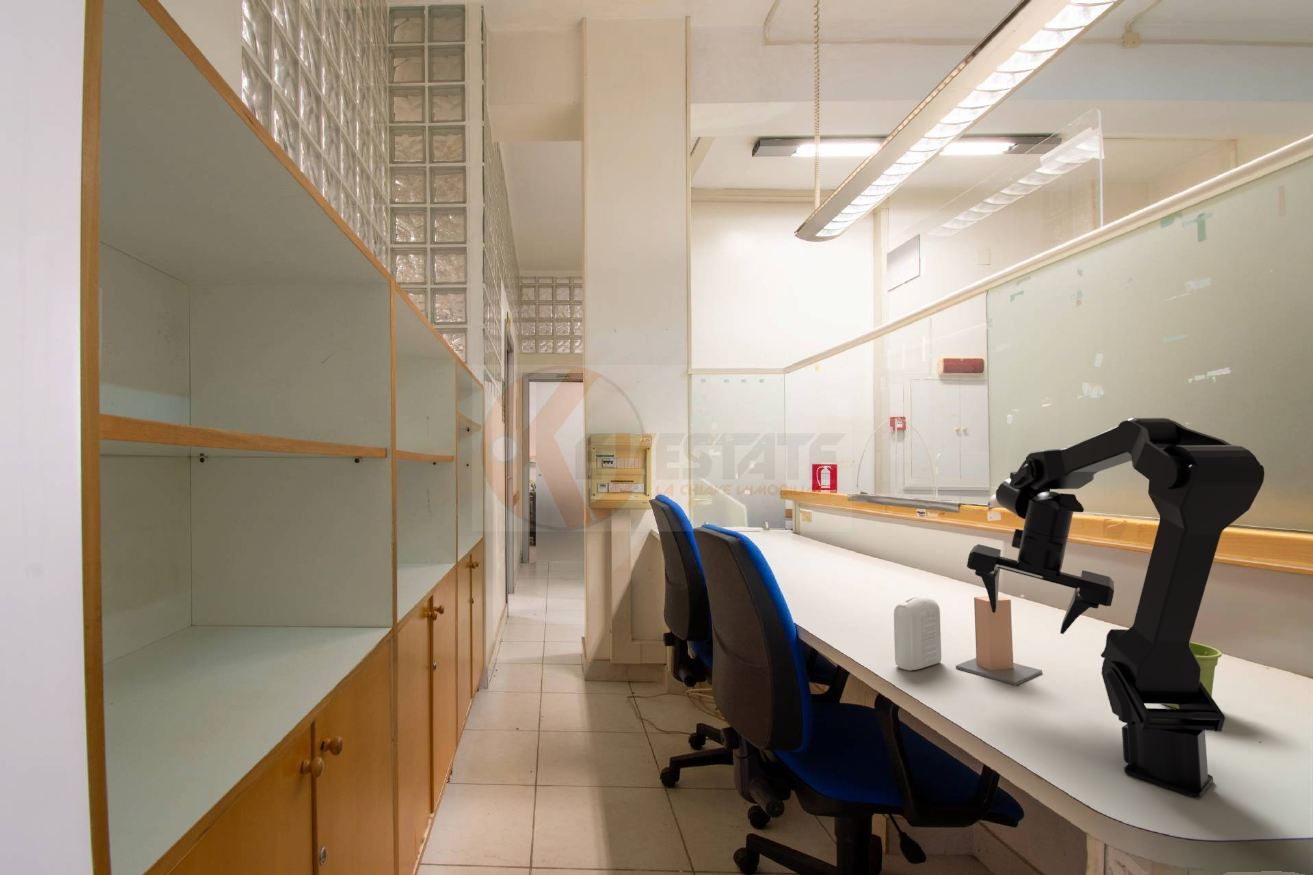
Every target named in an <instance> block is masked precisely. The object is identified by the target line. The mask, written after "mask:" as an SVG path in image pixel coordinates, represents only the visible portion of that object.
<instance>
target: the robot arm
mask: <svg viewBox="0 0 1313 875" xmlns="http://www.w3.org/2000/svg"><path fill="white" fill-rule="evenodd" d="M1128 462H1131V464H1132V467H1133V469H1134V470H1136V471H1137V473H1140V474H1141V476H1143V477H1145V478H1146V479H1147V480H1148V490H1147V493H1148V496H1149V498H1150V500H1151V501H1152V504H1153V505H1154V508H1155V509H1156V511H1157V513H1158V516H1159V521H1158V522H1159V523H1158V526H1157V531H1156V535H1155V537H1154V542H1153V547H1152V550H1151V553H1150V557H1149V560H1148V566H1147V569H1146V573H1145V577H1144V581H1143V585H1142V589H1141V592H1140V597H1139V601H1138V605H1137V609H1136V612H1135V617H1134V620H1133V623H1132V626H1131V627H1130V628H1128V629H1118V628H1117V629H1115V628H1113V629H1112V628H1111V629H1110V630H1109V631H1108V633H1107V634H1106V639H1105V647H1104V649H1103V651H1102V652H1101V653H1100V657H1101V658H1103V661H1102V665H1101V672H1100V673H1101V676H1102V679H1103V683H1104V686H1105V690H1106V695H1107V699H1108V701H1109V706H1110V709H1111V712H1112V714H1113V715H1116V716H1117V717H1118V721H1120V722H1121V723H1125V724H1124V725H1123V726H1122V727H1121V734H1122V736H1121V737H1122V752H1123V753H1122V754H1123V761H1124V762H1125V764H1127V765H1126V766H1124V767H1123V769H1124V770H1123V771H1124V773H1125V774H1127V775H1129V776H1133V777H1135V778H1137V779H1138V778H1139V779H1140V780H1144V781H1146V782H1149V783H1153V784H1154V785H1158V786H1161V787H1164V788H1166V789H1170V790H1172V791H1173V790H1174V791H1175V792H1178V793H1181V794H1184V795H1187V796H1190V797H1194V798H1198V799H1200V798H1201V797H1202V796H1203V795H1204V794H1205V792H1206V791H1207V790H1208V788H1209V787H1210V786H1211V785H1212V784H1213V783H1214V777H1213V775H1212V774H1209V771H1208V770H1209V769H1208V757H1207V742H1206V741H1207V740H1206V731H1207V732H1208V731H1209V732H1210V731H1212V732H1216V733H1217V732H1220V733H1221V732H1222V731H1223V727H1224V724H1225V721H1226V716H1225V714H1224V713H1223V711H1222V710H1221V708H1220V707H1219V705H1218V704H1217V703H1216V702H1215V700H1214V699H1213V697H1211V696H1210V694H1209V693H1208V691H1207V690H1206V689H1205V687H1204V686H1203V684H1202V683H1201V681H1200V674H1201V666H1200V664H1199V662H1198V661H1197V659H1196V657H1195V655H1194V653H1193V651H1192V649H1191V647H1190V645H1189V644H1190V642H1191V639H1192V634H1193V631H1194V628H1195V624H1196V621H1197V618H1198V615H1199V612H1200V607H1201V605H1202V604H1201V603H1202V600H1203V596H1204V594H1205V591H1206V588H1207V583H1208V580H1209V576H1210V572H1211V569H1212V565H1213V562H1214V559H1215V556H1216V553H1217V549H1218V545H1219V543H1220V539H1221V534H1223V531H1224V530H1225V529H1226V528H1228V527H1229V526H1230V525H1232V524H1233V523H1234V522H1235V521H1236V520H1238V519H1239V518H1241V517H1242V516H1243V515H1245V514H1246V513H1247V512H1248V511H1249V510H1250V509H1251V507H1252V505H1253V503H1254V501H1255V499H1256V497H1257V495H1258V494H1259V492H1260V490H1261V488H1262V486H1263V484H1264V481H1265V467H1264V466H1263V465H1262V464H1261V463H1260V461H1259V460H1258V458H1257V457H1256V455H1255V454H1253V453H1252V452H1251V451H1250V450H1249V449H1247V448H1246V447H1244V446H1243V445H1242V446H1240V445H1237V444H1236V445H1235V444H1231V443H1229V442H1228V441H1226V440H1224V439H1221V438H1218V437H1215V436H1212V435H1208V434H1207V433H1202V432H1200V431H1197V430H1194V429H1191V428H1188V427H1186V426H1184V425H1182V424H1180V423H1179V422H1177V421H1175V420H1173V419H1170V418H1167V417H1132V418H1128V419H1127V420H1123V421H1121V422H1119V423H1118V425H1117V426H1115V427H1112V428H1110V429H1107V430H1105V431H1102V432H1100V433H1098V434H1096V435H1093V436H1091V437H1089V438H1086V439H1084V440H1081V441H1079V442H1077V443H1075V444H1073V445H1069V446H1068V447H1063V448H1052V449H1043V450H1037V451H1031V452H1030V453H1028V454H1027V456H1026V457H1025V460H1024V461H1023V462H1022V464H1021V465H1020V467H1019V468H1018V470H1017V471H1010V474H1009V478H1008V479H1005V480H1004V481H1003V482H1001V483H1000V485H999V486H998V488H997V489H996V491H995V498H996V499H995V500H996V502H997V503H998V505H1000V506H1001V507H1002V508H1004V509H1006V510H1007V511H1009V512H1011V513H1012V514H1014V515H1016V516H1017V517H1019V518H1021V519H1022V520H1024V525H1023V529H1020V528H1015V529H1014V531H1013V532H1014V533H1013V537H1012V541H1011V548H1014V549H1017V550H1018V556H1017V560H1016V559H1012V558H1008V557H1005V556H1001V552H1002V550H1001V549H998V548H996V547H995V548H994V547H991V546H987V545H983V544H979V543H978V544H976V545H974V546H973V547H972V549H971V550H970V552H969V554H968V559H967V562H966V567H967V568H968V569H970V570H971V571H972V570H973V571H974V574H975V576H977V577H981V580H982V582H983V584H984V587H985V589H986V592H987V597H989V600H990V604H991V608H992V612H993V613H995V612H996V609H997V604H998V597H999V586H1000V585H999V584H1000V583H999V582H1000V581H999V580H1000V574H1001V572H1000V571H1001V570H1005V571H1008V572H1012V573H1016V574H1019V575H1022V576H1027V577H1030V578H1034V579H1038V580H1042V581H1045V582H1049V583H1053V584H1057V585H1060V586H1064V587H1068V588H1072V589H1074V591H1073V594H1072V597H1071V600H1070V603H1069V605H1068V607H1067V610H1066V612H1065V615H1064V617H1063V619H1062V623H1061V626H1060V634H1061V635H1064V634H1065V633H1066V632H1067V630H1068V629H1069V628H1070V627H1071V626H1072V624H1073V623H1074V622H1075V621H1076V620H1077V619H1078V618H1079V616H1081V615H1082V614H1083V613H1085V612H1086V611H1087V610H1089V608H1092V609H1095V610H1096V609H1099V607H1100V605H1101V606H1105V607H1111V606H1112V603H1113V598H1114V593H1115V586H1114V584H1115V583H1114V580H1113V579H1112V578H1111V576H1108V575H1104V574H1099V573H1096V572H1092V571H1087V570H1085V569H1082V570H1081V572H1080V576H1078V575H1075V574H1070V573H1066V572H1063V571H1062V569H1063V562H1064V558H1065V553H1066V549H1067V548H1066V547H1067V543H1068V538H1069V535H1070V530H1071V524H1072V520H1073V516H1074V513H1084V511H1085V509H1084V506H1083V505H1082V503H1081V502H1080V501H1079V500H1078V499H1077V496H1076V494H1074V493H1060V492H1058V491H1052V490H1079V489H1081V488H1083V487H1084V486H1086V485H1088V484H1089V483H1091V482H1093V480H1094V479H1095V475H1096V474H1097V473H1099V472H1102V471H1104V470H1107V469H1111V468H1115V467H1116V466H1120V465H1123V464H1126V463H1128ZM1145 704H1146V705H1164V704H1178V706H1179V709H1176V708H1158V707H1157V708H1155V707H1154V708H1151V707H1150V708H1149V707H1146V705H1145Z"/></svg>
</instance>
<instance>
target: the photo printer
mask: <svg viewBox="0 0 1313 875" xmlns="http://www.w3.org/2000/svg"><path fill="white" fill-rule="evenodd" d="M893 626H894V628H893V632H894V633H893V634H894V661H895V662H894V663H895V665H896V666H897V667H898V668H900V669H901V670H905V671H916V670H920V669H923V668H926V667H929V666H933V665H937V664H939V663H941V661H942V639H941V636H942V634H941V633H942V632H941V609H940V606H939V604H938V602H937V601H936V600H935V599H934V598H931V597H928V596H923V595H914V596H913V595H912V596H910V597H908V598H905V599H903V600H902V601H900V602H899V603H898V604H897V605H896V606H895V608H894V610H893Z"/></svg>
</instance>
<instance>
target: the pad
mask: <svg viewBox="0 0 1313 875" xmlns="http://www.w3.org/2000/svg"><path fill="white" fill-rule="evenodd" d="M955 669H957V670H961V671H964V672H967V673H972V674H974V675H978V676H981V677H986V678H989V679H993V680H996V681H1000V682H1004V683H1008V684H1011V685H1014V686H1017V685H1020V684H1023V683H1024V682H1026V681H1028V680H1031V679H1033V678H1035V677H1037V676H1039V675H1041V674H1042V673H1043V670H1042V669H1039V668H1035V667H1030V666H1027V665H1023V664H1018V663H1017V662H1015V663H1014V662H1013V668H1006V669H996V670H989V669H986V668H984V667H982V666H979V665H977V662H976V657H974V658H972V659H969V660H967V661H964V662H962V663H959V664H957V665H955Z"/></svg>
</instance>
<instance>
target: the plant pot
mask: <svg viewBox="0 0 1313 875" xmlns="http://www.w3.org/2000/svg"><path fill="white" fill-rule="evenodd" d="M1189 645H1190V647H1191V649H1192V651H1193V653H1194V655H1195V657H1196V659H1197V661H1198V662H1199V664H1200V666H1201V674H1200V681H1201V683H1202V684H1203V686H1204V687H1205V689H1206V690H1207V691H1208V693H1209V694H1210V696H1211V697H1212V695H1213V688H1214V687H1213V686H1214V680H1215V669H1216V667H1217V665H1218V660H1219V658H1221V657H1222V655H1223V654H1222V652H1221V651H1220V650H1218V649H1216V648H1215V647H1212V646H1210V645H1206V644H1201V643H1198V642H1193V641H1190V644H1189ZM1212 698H1213V697H1212ZM1163 705H1165V706H1167V707H1170V708H1172V709H1179V706H1178V704H1163Z"/></svg>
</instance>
